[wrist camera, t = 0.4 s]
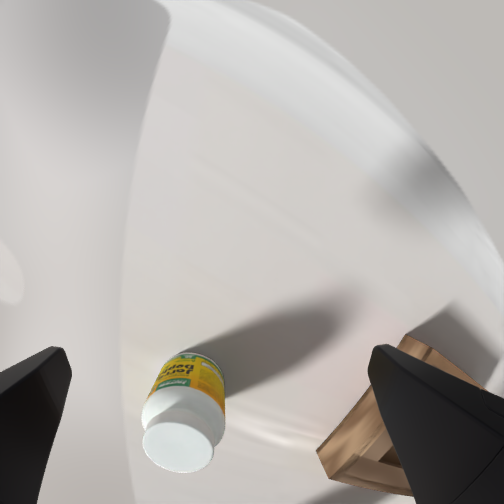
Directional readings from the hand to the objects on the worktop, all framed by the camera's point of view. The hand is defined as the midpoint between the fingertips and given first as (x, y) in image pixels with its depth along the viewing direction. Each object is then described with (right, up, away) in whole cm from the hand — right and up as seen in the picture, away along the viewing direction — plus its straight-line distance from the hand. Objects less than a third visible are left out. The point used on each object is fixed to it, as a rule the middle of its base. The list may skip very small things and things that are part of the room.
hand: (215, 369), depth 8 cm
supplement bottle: (-4, -7, +16) cm, 18 cm away
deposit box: (+17, -14, +17) cm, 28 cm away
